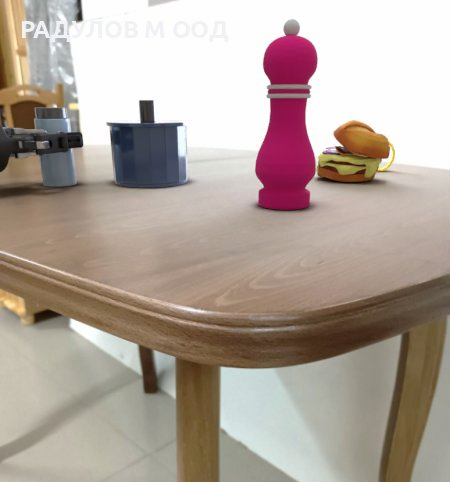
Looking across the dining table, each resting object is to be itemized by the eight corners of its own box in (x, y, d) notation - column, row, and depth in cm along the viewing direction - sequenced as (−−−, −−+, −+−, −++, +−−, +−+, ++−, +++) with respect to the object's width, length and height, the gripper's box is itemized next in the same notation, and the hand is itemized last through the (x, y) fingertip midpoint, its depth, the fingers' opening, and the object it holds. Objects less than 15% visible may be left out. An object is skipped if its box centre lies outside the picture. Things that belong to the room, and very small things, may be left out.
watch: (358, 171, 89) (362, 136, 87) (358, 169, 92) (361, 135, 89) (393, 172, 88) (397, 137, 86) (391, 170, 90) (395, 136, 88)
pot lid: (89, 130, 71) (86, 100, 70) (137, 126, 82) (136, 100, 80) (161, 132, 67) (160, 99, 65) (203, 128, 77) (202, 100, 75)
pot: (99, 184, 75) (94, 125, 71) (141, 175, 84) (138, 123, 81) (163, 189, 70) (160, 127, 67) (200, 179, 80) (199, 124, 77)
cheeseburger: (329, 172, 87) (347, 114, 82) (384, 192, 82) (407, 132, 77) (301, 177, 79) (320, 114, 74) (360, 200, 74) (384, 134, 70)
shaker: (35, 185, 74) (24, 107, 70) (59, 181, 78) (50, 107, 74) (61, 187, 72) (51, 107, 68) (83, 183, 76) (75, 107, 72)
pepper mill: (323, 203, 61) (336, 20, 53) (296, 213, 55) (308, 11, 48) (272, 197, 65) (278, 26, 57) (243, 206, 59) (245, 17, 52)
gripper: (-15, 115, 57) (98, 113, 69) (-75, 114, 64) (37, 112, 77) (-3, 181, 59) (103, 167, 72) (-62, 172, 67) (43, 161, 80)
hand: (68, 138), depth 75 cm, fingers closed on shaker, 5 cm apart
